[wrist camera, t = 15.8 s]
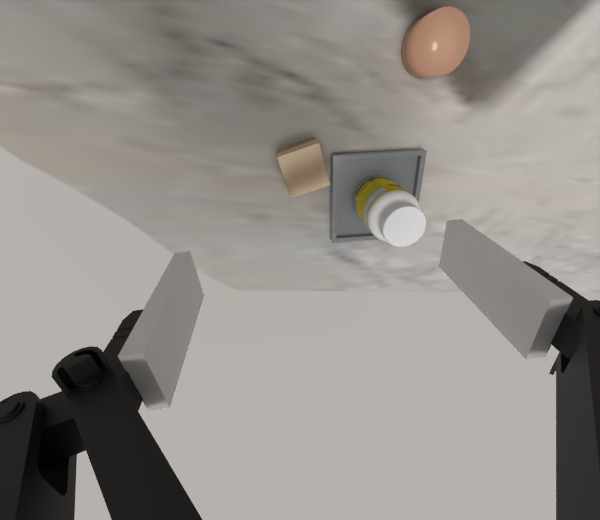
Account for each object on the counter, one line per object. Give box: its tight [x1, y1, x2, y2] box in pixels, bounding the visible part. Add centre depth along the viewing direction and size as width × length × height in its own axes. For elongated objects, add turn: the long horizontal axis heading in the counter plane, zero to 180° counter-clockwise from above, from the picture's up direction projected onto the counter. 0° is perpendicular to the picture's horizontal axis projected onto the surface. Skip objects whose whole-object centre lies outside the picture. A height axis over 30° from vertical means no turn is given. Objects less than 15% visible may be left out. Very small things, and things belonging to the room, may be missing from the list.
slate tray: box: [330, 149, 426, 243], centre depth 42 cm, size 12×12×2 cm
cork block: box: [276, 138, 330, 198], centre depth 37 cm, size 5×5×5 cm
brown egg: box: [401, 6, 470, 78], centre depth 33 cm, size 6×6×4 cm
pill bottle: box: [353, 176, 426, 247], centre depth 37 cm, size 6×6×11 cm
